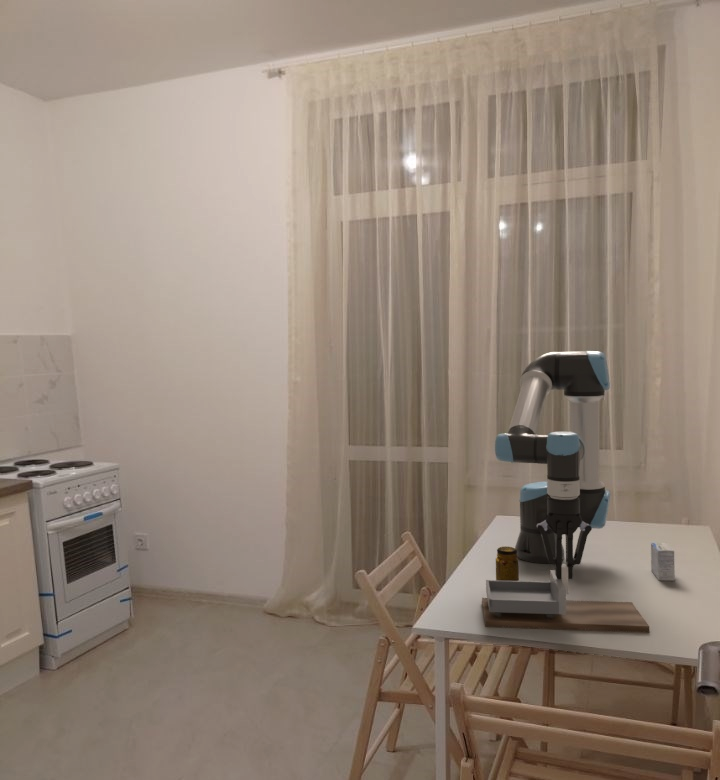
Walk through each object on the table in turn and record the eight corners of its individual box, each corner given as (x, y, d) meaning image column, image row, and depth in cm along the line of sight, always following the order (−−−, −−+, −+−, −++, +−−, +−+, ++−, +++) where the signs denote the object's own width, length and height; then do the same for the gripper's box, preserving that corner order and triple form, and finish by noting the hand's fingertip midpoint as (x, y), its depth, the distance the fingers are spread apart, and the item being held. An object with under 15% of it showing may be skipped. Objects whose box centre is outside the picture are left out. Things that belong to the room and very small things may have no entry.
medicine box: (675, 581, 175) (675, 551, 174) (657, 580, 176) (657, 550, 175) (667, 571, 183) (667, 542, 182) (650, 571, 183) (650, 542, 183)
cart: (486, 597, 162) (485, 568, 162) (556, 599, 160) (556, 570, 159) (489, 618, 149) (489, 587, 149) (566, 621, 147) (565, 589, 146)
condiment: (497, 586, 175) (497, 544, 174) (528, 590, 171) (528, 547, 170) (492, 595, 168) (491, 551, 167) (524, 600, 164) (523, 555, 164)
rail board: (482, 603, 163) (482, 597, 163) (631, 608, 158) (631, 602, 157) (485, 626, 149) (485, 620, 149) (649, 632, 144) (649, 626, 144)
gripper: (538, 499, 149) (538, 596, 150) (595, 499, 147) (595, 598, 148) (533, 492, 156) (534, 585, 157) (587, 492, 154) (588, 586, 156)
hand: (564, 591), depth 153 cm, fingers closed
